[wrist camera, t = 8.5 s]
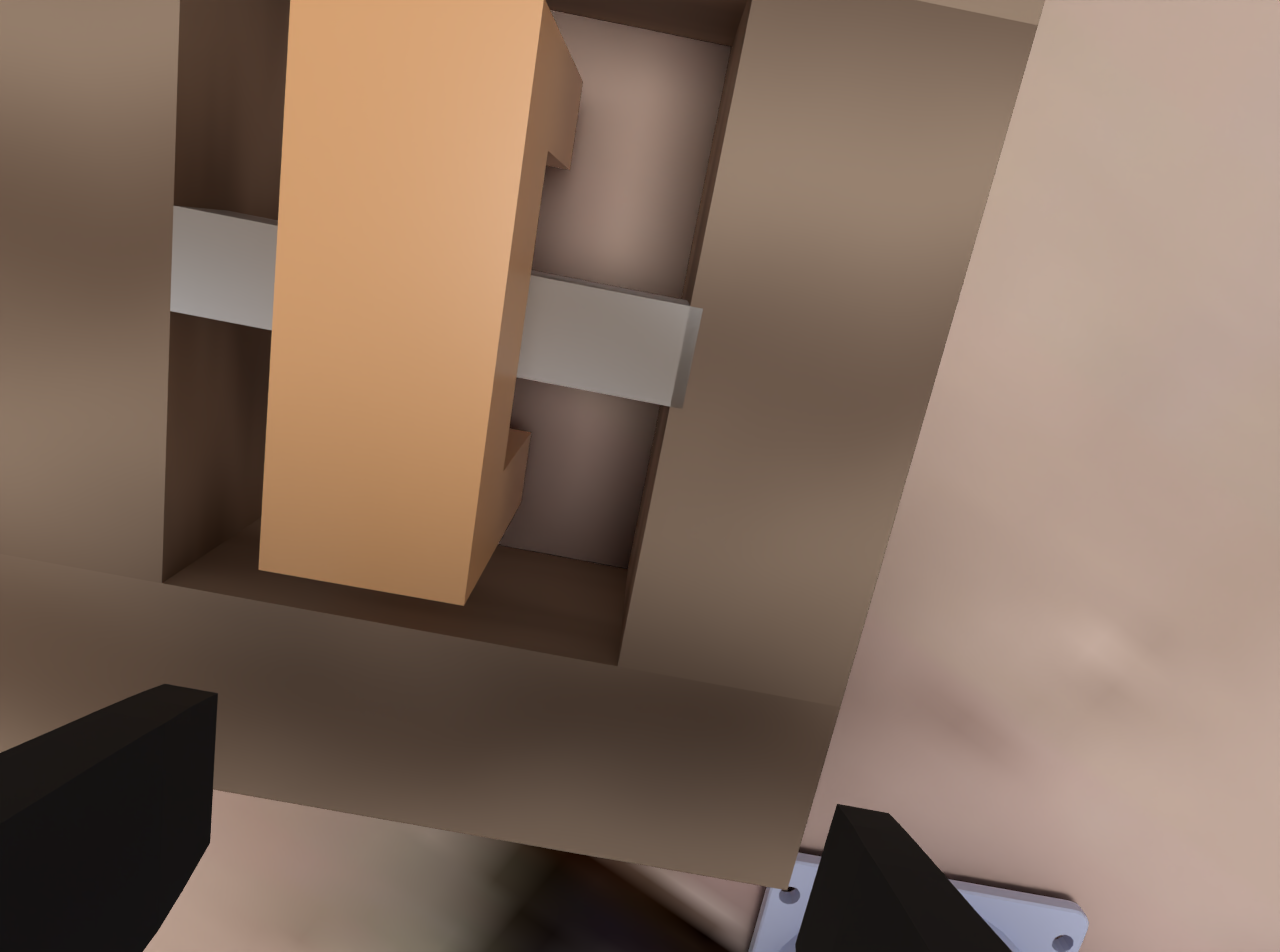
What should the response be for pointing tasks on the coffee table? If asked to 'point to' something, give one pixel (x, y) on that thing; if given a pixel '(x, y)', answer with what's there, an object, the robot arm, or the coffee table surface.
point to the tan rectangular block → (406, 284)
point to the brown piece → (550, 352)
